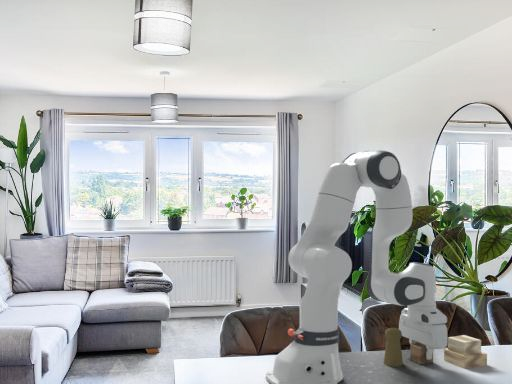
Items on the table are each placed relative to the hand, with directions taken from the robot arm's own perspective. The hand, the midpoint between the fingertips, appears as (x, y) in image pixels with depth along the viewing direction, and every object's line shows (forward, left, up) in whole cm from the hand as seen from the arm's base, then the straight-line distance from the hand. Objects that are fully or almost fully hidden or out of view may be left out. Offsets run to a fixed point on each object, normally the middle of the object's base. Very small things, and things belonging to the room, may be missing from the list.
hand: (421, 356), depth 176 cm
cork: (-10, +1, -2) cm, 10 cm away
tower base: (+12, -6, -2) cm, 14 cm away
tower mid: (+12, -6, +2) cm, 13 cm away
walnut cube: (0, 0, -2) cm, 2 cm away
